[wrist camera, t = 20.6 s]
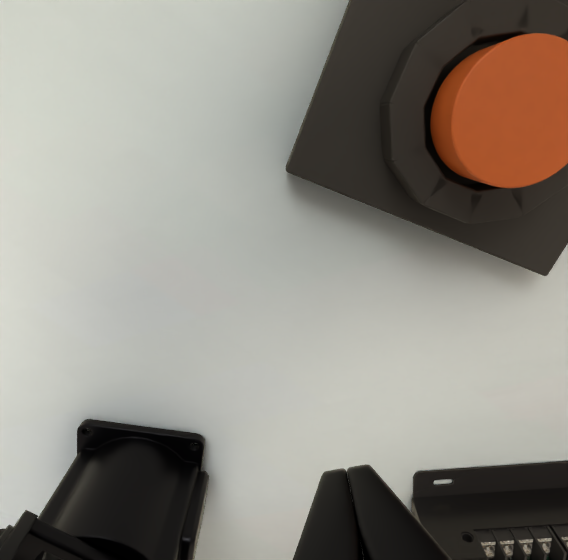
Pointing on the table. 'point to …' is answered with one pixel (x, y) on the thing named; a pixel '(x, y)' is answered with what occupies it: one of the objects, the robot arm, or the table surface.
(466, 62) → the button
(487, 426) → the table surface
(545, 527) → the black printed box
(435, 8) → the pad
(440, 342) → the table surface
